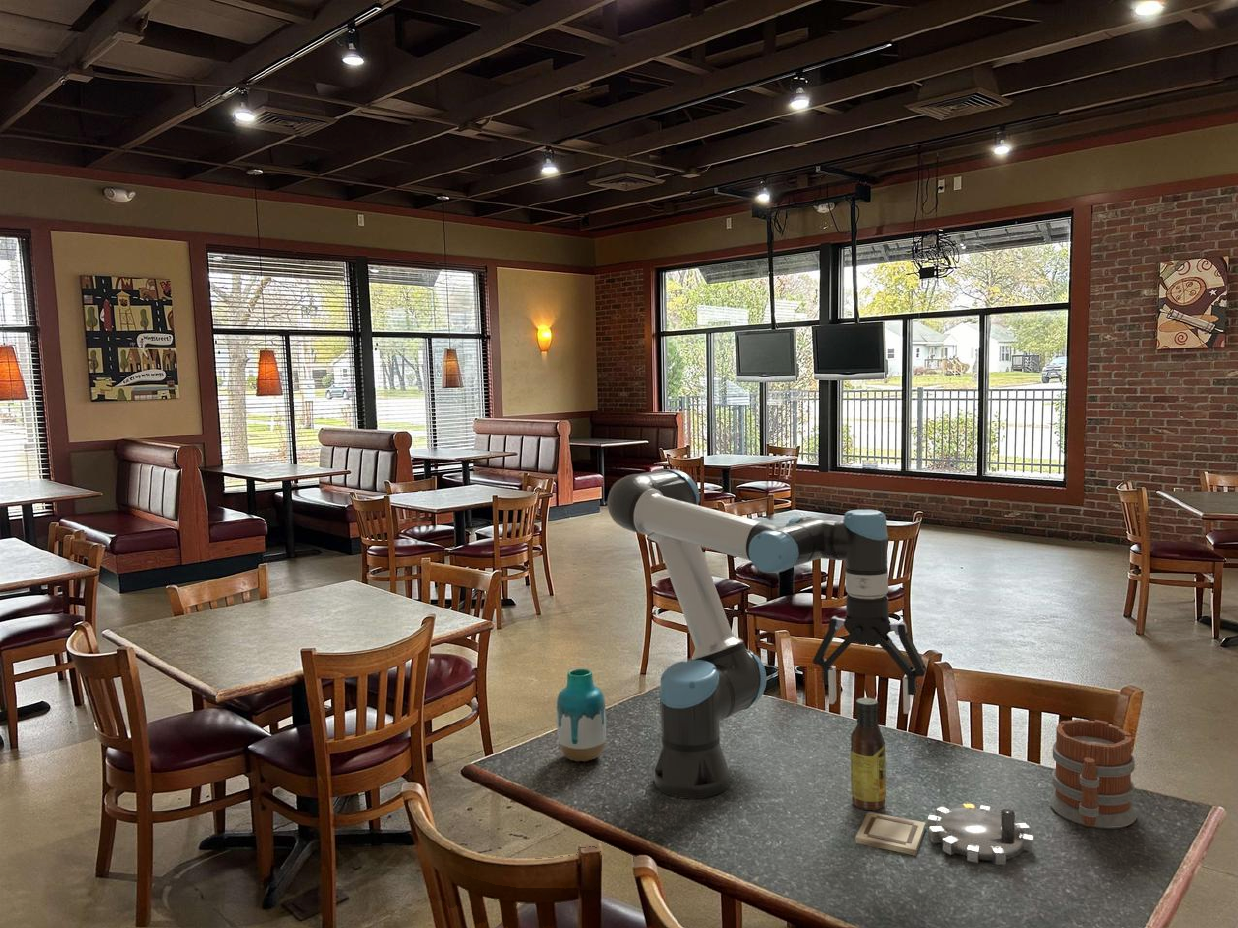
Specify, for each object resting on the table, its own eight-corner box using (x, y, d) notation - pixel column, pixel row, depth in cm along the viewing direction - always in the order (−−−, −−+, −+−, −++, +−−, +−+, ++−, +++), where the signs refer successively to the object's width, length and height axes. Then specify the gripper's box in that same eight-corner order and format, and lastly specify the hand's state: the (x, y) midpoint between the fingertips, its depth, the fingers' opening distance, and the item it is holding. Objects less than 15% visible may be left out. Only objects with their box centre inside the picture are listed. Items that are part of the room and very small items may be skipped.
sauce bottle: (887, 813, 162) (886, 708, 160) (852, 810, 163) (851, 707, 161) (884, 796, 168) (883, 695, 166) (850, 794, 169) (849, 694, 167)
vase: (616, 753, 192) (613, 668, 190) (589, 772, 183) (585, 683, 181) (577, 744, 197) (573, 661, 196) (548, 762, 189) (544, 675, 187)
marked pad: (855, 842, 152) (855, 836, 152) (868, 816, 161) (868, 810, 160) (915, 855, 147) (915, 849, 147) (925, 827, 156) (925, 821, 156)
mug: (1137, 802, 162) (1138, 724, 161) (1135, 851, 146) (1137, 764, 145) (1052, 787, 170) (1053, 711, 168) (1042, 832, 153) (1043, 749, 152)
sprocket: (986, 873, 140) (986, 831, 139) (907, 831, 154) (907, 793, 153) (1049, 842, 148) (1050, 803, 148) (969, 805, 162) (969, 769, 161)
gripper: (794, 594, 164) (797, 704, 166) (935, 604, 153) (936, 722, 154) (806, 585, 171) (808, 691, 173) (941, 594, 159) (942, 708, 161)
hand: (869, 706), depth 164 cm, fingers open, 13 cm apart
